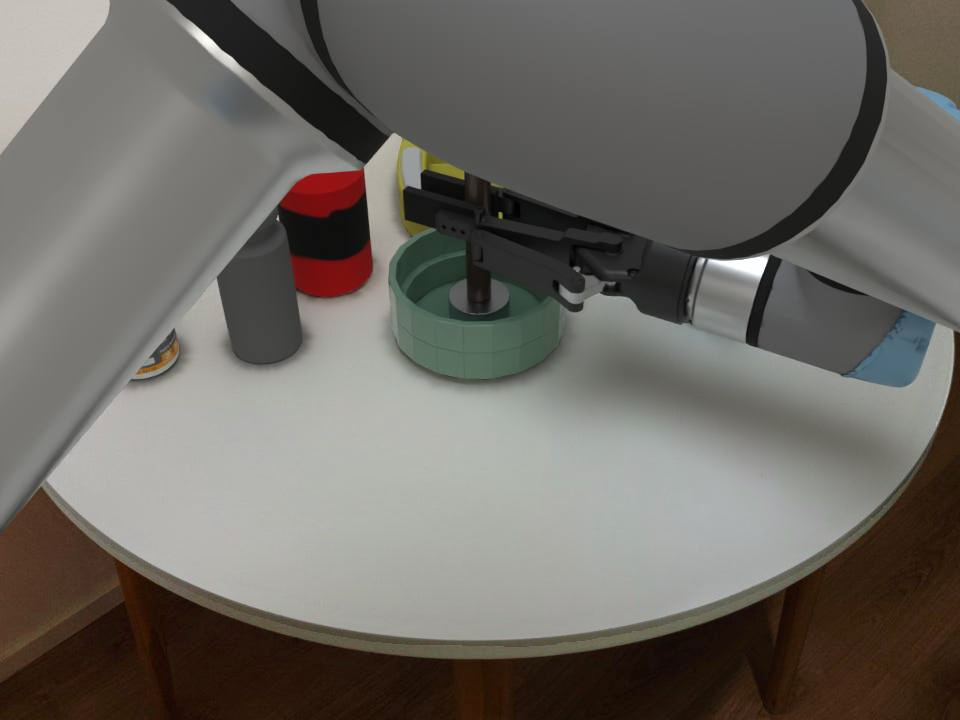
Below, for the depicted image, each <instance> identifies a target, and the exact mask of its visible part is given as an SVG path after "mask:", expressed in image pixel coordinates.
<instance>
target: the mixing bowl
mask: <svg viewBox="0 0 960 720" xmlns="http://www.w3.org/2000/svg"><path fill="white" fill-rule="evenodd" d="M388 265H389V266H388V275H387V276H388V277H387V281H388V282H387V283H388V295H389V306H390V318H391V319H390V321H391V331H392V334H393V336H394V339H395V340H396V343H397V345H398V348H399V349H400V350H401V351H402V352H403V353H404V354H405V355H406V356H407V357H409V358H410V359H411V360H412V361H413V362H414V363H415V364H417V365H419V366H421V367H424V368H426V369H428V370H430V371H431V372H434V373H436V374H439V375H444V376H449V377H453V378H458V379H463V380H485V379H487V380H493V379H498V378H502V377H506V376H510V375H514V374H519V373H522V372H525V371H526V370H528V369H530V368H531V367H534V366H536V365H537V364H540V363H542V362H543V361H544V360H545V359H546V358H547V357H548V356H549V355H550V354H551V353H552V352H553V351H554V350H555V349H556V348H557V347H558V346H559V343H560V341H561V339H562V336H563V334H564V331H565V325H566V310H567V309H566V308H565V307H564V306H562V305H561V304H560V303H559V302H558V301H556V300H555V299H554V298H552V297H550V296H547V295H545V294H543V293H540V292H538V291H535V290H533V289H531V288H528V287H526V286H523V285H521V284H519V283H516V282H514V281H511V280H509V279H507V278H504V277H502V276H500V275H497V274H495V273H492V272H491V278H492V279H495V280H498V281H500V282H501V283H503V284H504V285H505V286H506V287H507V289H508V290H509V293H510V314H509V317H508V318H504V319H499V320H494V321H460V320H455V319H450V317H449V297H448V295H449V291H450V289H451V288H452V287H453V286H454V285H455V284H456V283H457V282H459V281H461V280H464V279H466V241H464V240H461V239H457V238H454V237H450V236H448V235H444V234H440V233H439V232H438V231H436V229H434V228H430V229H427V230H425V231H423V232H420V233H418V234H416V235H414V236H412V237H410V238H408V240H407V241H405V242H404V243H402V244H400V246H399V247H398V248H397V250H396V251H395V253H394V254H393V256H392V258H391V260H390V261H389V264H388Z"/></svg>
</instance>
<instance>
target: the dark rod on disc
mask: <svg viewBox="0 0 960 720" xmlns="http://www.w3.org/2000/svg"><path fill="white" fill-rule="evenodd" d="M464 186H465V202H468V203H471V204H475V205H479V206H484V207H486V215H487V216H491V182H489V181H486V180H484V179H482V178H479V177H477V176H474V175H472V174H469V173H467V172H465V171H464ZM448 297H449V317H450V319H455V320H460V321H494V320H499V319H504V318H508V317H509V314H510V293H509V290H508V289H507V287H506V286H505V285H504V284H503V283H501V282H500V281H498V280H495V279H492V278H491V272H490V271H488V270H485V269H483V268H480V267H478V266H476V265H474V264H472V259H471V243H470V242H467V241H466V279H464V280H461V281H459V282H457V283H456V284H455V285H454V286H453V287H452V288H451V289H450V291H449V295H448Z"/></svg>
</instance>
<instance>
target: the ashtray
mask: <svg viewBox="0 0 960 720" xmlns="http://www.w3.org/2000/svg"><path fill="white" fill-rule="evenodd" d="M401 138H402V137H401ZM425 169H427V170H430V171H434V172H438V173H441V174H445V175H449V176H452V177H456V178H460V179H463V180H464V171H462V170H460V169H458V168H456V167H454V166H452V165H450V164H448V163H446V162H444V161H443V160H441V159H439V158H437V157H435V156H433V155H431V154H429V153H427V152H426V151H424V150H422V149H420V148H419V147H417V146H415V145H414V144H412V143H410V142H409V141H407V140H405V139H404V138H402V139H401V143H400V146H399V150H398V155H397V161H396V176H397V190H398V191H397V192H398V206H399V215H400V219H401V222H402V224H403V226H404V228H405V230H406V231H407V232H408V233H409V234H410V235H411V236H412V237H413V236H414V235H416V234H418V233H420V232H423V231H425V230H427V229H430V228H431V227H427V226H424V225H420V224H417V223H414V222H410V221H407V220H405V217H404V202H403V190H404V189H405V188H406V187H407V186H411V187H415V188H418V189H421V177H420V173H421V172H423V171H424V170H425ZM491 185H493V186H496V187H500V188H503V187H501V186H498V185H496V184H494V183H491ZM499 218H501V219H502V213H501V212H499Z"/></svg>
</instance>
